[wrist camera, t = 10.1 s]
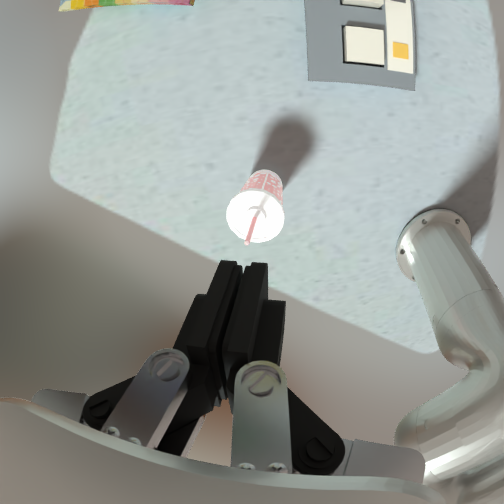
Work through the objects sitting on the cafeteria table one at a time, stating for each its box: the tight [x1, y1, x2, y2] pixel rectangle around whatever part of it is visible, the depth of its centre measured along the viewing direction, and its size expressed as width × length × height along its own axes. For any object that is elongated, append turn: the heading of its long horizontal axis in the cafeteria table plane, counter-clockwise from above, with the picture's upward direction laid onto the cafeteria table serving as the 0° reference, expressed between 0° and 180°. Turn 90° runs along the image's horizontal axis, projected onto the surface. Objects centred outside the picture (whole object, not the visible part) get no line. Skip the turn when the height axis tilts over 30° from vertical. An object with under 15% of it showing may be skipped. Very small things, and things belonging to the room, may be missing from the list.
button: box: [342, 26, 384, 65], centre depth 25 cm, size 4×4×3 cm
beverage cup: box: [227, 169, 285, 245], centre depth 34 cm, size 6×6×14 cm
